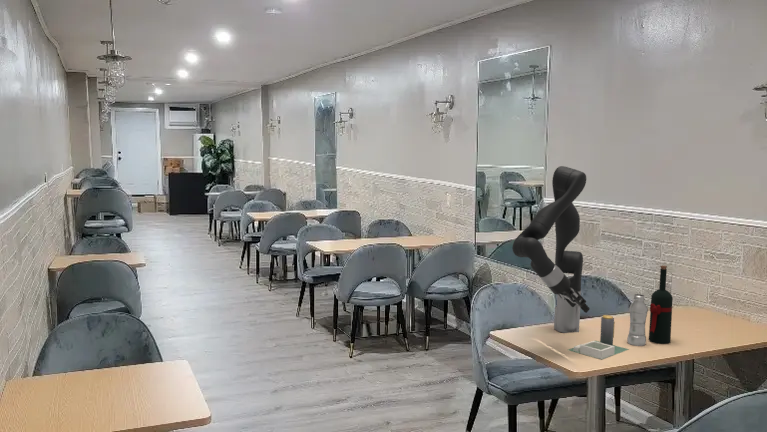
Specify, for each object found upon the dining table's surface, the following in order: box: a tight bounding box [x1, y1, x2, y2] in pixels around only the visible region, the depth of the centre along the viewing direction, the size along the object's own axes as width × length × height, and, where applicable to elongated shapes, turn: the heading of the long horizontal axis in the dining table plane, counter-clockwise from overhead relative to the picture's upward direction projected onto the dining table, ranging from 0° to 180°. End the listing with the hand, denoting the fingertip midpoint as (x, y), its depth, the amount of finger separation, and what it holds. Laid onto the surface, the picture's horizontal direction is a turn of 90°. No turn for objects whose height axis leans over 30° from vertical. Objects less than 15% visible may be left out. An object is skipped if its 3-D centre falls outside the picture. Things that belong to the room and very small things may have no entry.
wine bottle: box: [648, 265, 674, 345], centre depth 250 cm, size 8×10×30 cm
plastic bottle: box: [627, 293, 649, 347], centre depth 243 cm, size 6×7×20 cm
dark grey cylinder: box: [599, 314, 616, 346], centre depth 239 cm, size 5×4×12 cm
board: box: [567, 340, 630, 360], centre depth 236 cm, size 14×19×4 cm
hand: (580, 308), depth 235 cm, fingers open, 8 cm apart
